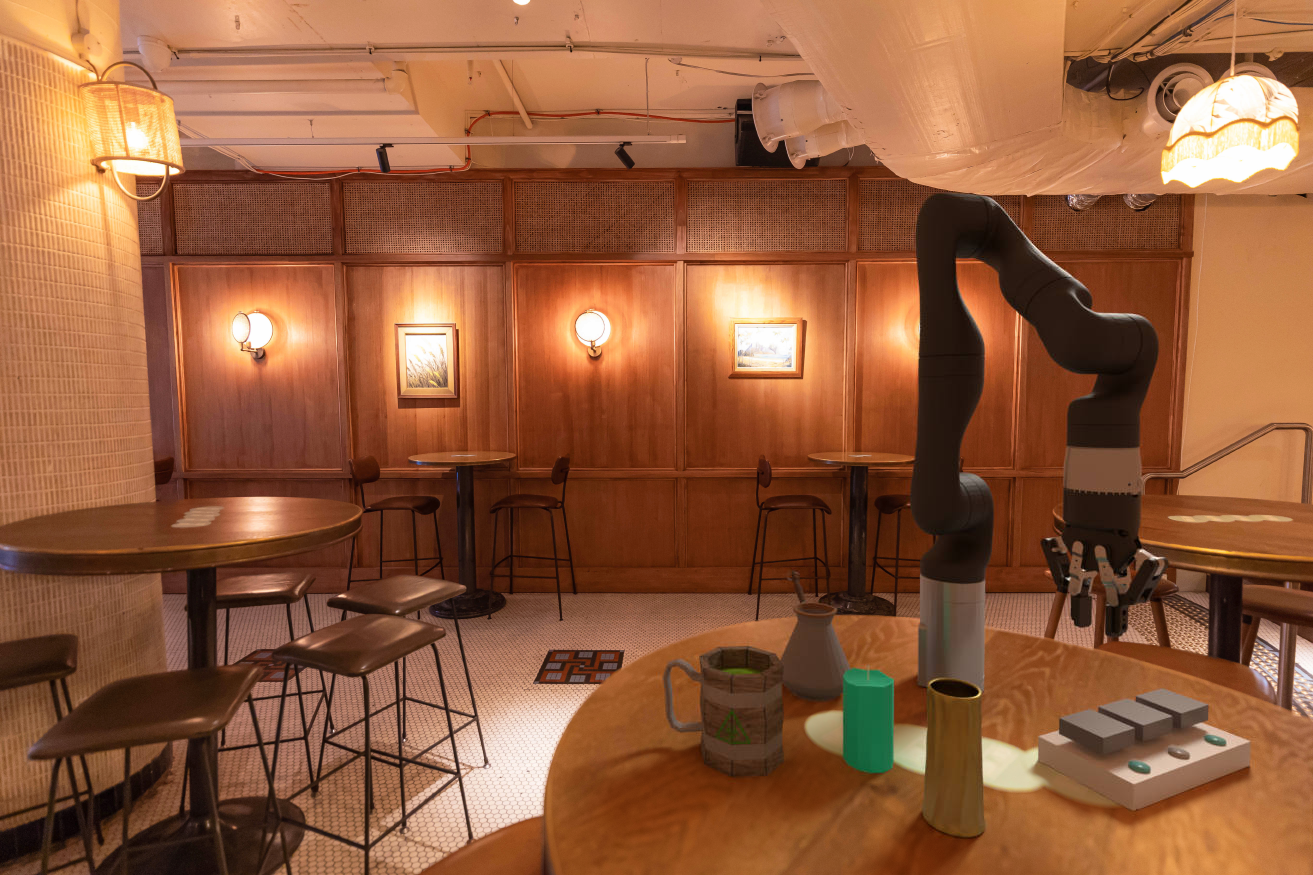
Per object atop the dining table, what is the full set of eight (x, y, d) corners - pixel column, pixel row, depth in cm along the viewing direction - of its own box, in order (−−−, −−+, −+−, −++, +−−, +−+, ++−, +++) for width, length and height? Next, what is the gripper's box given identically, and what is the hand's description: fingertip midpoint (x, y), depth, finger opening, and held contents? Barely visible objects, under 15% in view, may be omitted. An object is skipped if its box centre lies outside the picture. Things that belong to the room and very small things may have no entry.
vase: (911, 803, 71) (912, 676, 70) (964, 800, 71) (965, 674, 71) (940, 840, 65) (941, 702, 64) (998, 836, 65) (1000, 699, 65)
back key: (1180, 729, 78) (1181, 713, 78) (1135, 710, 83) (1135, 695, 83) (1208, 720, 81) (1208, 704, 80) (1162, 702, 85) (1162, 688, 85)
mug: (789, 739, 85) (789, 650, 84) (777, 785, 75) (777, 684, 74) (676, 721, 90) (675, 637, 89) (650, 762, 80) (649, 667, 79)
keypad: (1133, 811, 69) (1133, 781, 69) (1038, 759, 79) (1038, 733, 79) (1249, 765, 78) (1250, 738, 77) (1150, 724, 88) (1150, 700, 88)
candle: (897, 775, 76) (898, 676, 76) (845, 770, 77) (845, 672, 77) (889, 749, 82) (890, 657, 82) (841, 744, 83) (841, 654, 83)
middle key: (1142, 741, 76) (1143, 725, 76) (1097, 722, 80) (1098, 706, 80) (1172, 732, 78) (1172, 715, 78) (1126, 713, 83) (1127, 698, 82)
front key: (1102, 755, 73) (1103, 737, 73) (1058, 733, 78) (1059, 717, 78) (1134, 744, 75) (1134, 727, 75) (1089, 724, 80) (1090, 708, 80)
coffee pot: (863, 706, 94) (863, 605, 93) (785, 708, 94) (784, 606, 93) (824, 651, 115) (824, 568, 114) (760, 652, 115) (760, 569, 114)
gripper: (1023, 481, 80) (1021, 617, 81) (1146, 494, 67) (1142, 657, 68) (1064, 478, 83) (1062, 609, 84) (1189, 490, 70) (1185, 646, 71)
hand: (1098, 630), depth 76 cm, fingers open, 3 cm apart
